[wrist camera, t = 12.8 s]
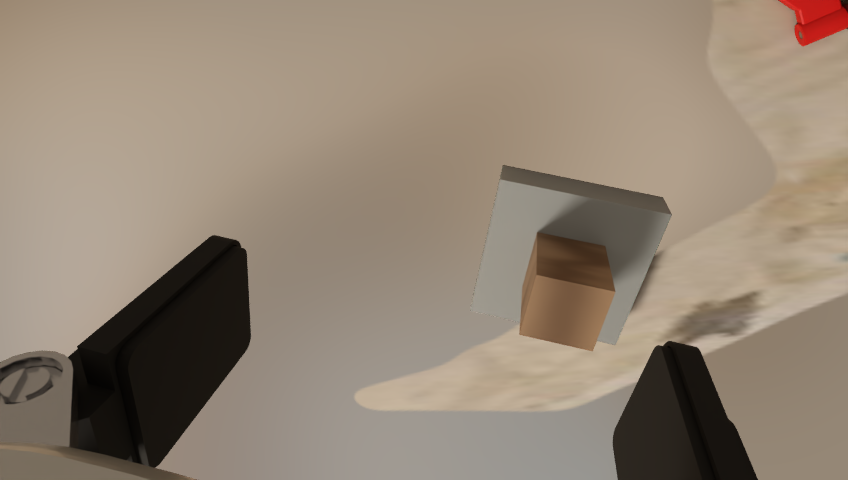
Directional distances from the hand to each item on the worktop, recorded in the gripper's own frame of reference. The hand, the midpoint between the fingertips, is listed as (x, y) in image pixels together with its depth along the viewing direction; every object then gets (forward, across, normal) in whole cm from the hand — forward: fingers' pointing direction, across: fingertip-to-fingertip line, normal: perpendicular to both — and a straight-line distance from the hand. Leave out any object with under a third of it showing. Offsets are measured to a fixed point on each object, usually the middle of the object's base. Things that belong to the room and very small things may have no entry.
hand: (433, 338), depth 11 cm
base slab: (+28, -7, +12) cm, 32 cm away
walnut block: (+25, -7, +12) cm, 29 cm away
